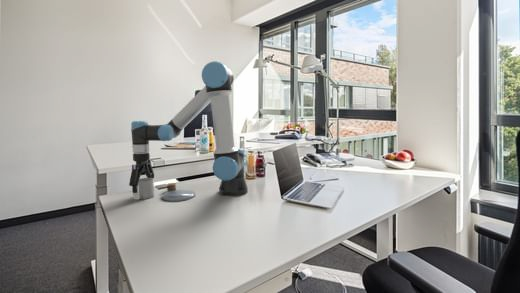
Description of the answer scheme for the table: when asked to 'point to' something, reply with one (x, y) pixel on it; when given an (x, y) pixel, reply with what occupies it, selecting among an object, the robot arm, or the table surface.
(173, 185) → the walnut block
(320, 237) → the table surface
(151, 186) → the cup
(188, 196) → the dish
